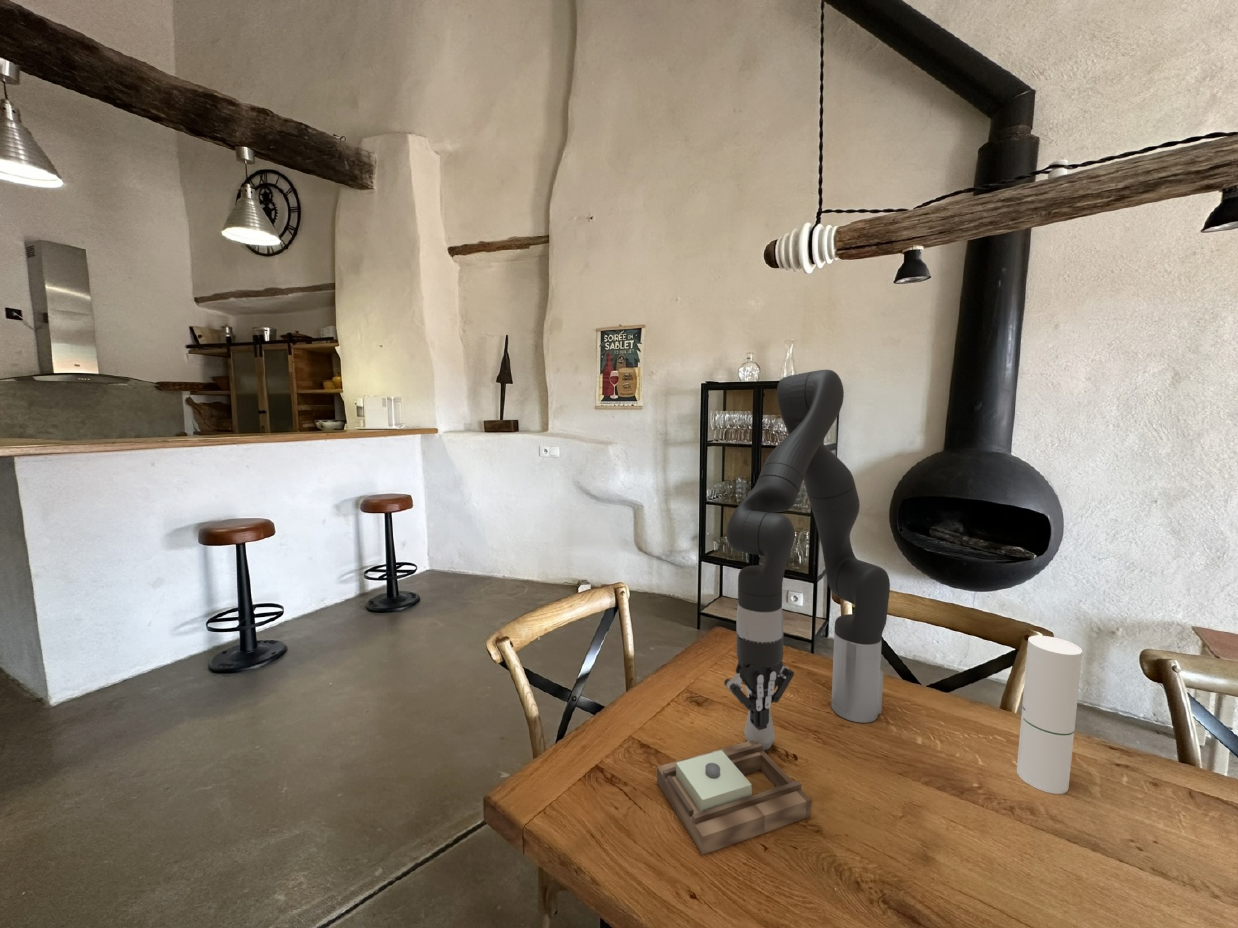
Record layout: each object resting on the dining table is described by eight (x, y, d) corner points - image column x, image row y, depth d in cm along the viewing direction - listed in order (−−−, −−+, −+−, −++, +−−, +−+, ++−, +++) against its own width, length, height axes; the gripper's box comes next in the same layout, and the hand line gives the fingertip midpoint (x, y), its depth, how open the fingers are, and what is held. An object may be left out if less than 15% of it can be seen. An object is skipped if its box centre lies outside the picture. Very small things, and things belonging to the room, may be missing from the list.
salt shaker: (771, 736, 104) (773, 675, 103) (777, 755, 99) (779, 690, 97) (742, 734, 105) (743, 673, 104) (746, 753, 99) (747, 689, 98)
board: (752, 754, 99) (752, 735, 99) (810, 816, 84) (811, 793, 84) (656, 782, 92) (656, 761, 92) (702, 854, 77) (702, 830, 77)
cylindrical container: (1060, 771, 94) (1073, 639, 91) (1075, 798, 87) (1089, 658, 85) (1012, 760, 97) (1023, 632, 94) (1022, 786, 90) (1035, 649, 88)
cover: (721, 762, 92) (721, 744, 92) (751, 798, 84) (751, 778, 83) (675, 776, 89) (676, 757, 89) (702, 814, 81) (702, 793, 80)
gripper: (777, 614, 92) (777, 705, 94) (713, 628, 87) (713, 723, 89) (807, 631, 85) (805, 729, 87) (738, 647, 80) (739, 750, 82)
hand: (759, 726), depth 88 cm, fingers closed
